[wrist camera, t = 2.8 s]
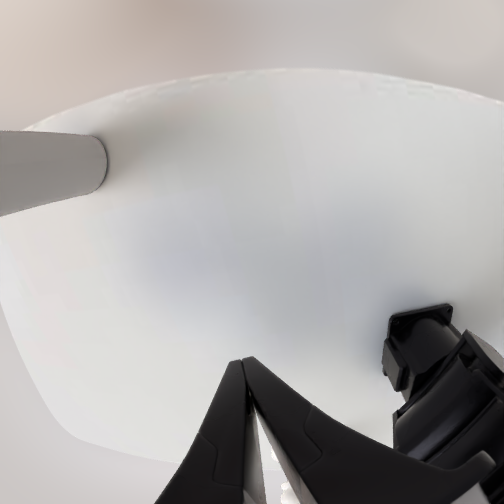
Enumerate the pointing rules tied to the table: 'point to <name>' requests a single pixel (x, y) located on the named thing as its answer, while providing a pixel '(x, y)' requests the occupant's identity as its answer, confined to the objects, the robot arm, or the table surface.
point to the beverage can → (47, 168)
